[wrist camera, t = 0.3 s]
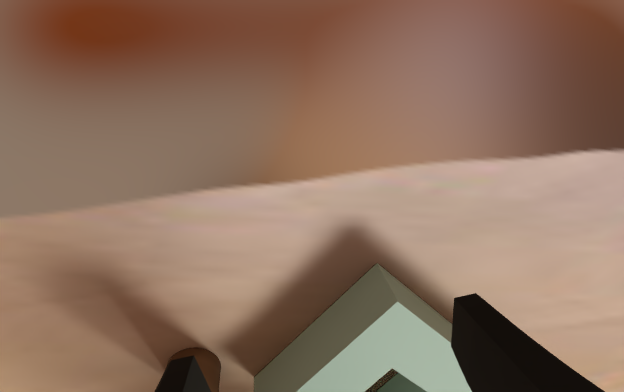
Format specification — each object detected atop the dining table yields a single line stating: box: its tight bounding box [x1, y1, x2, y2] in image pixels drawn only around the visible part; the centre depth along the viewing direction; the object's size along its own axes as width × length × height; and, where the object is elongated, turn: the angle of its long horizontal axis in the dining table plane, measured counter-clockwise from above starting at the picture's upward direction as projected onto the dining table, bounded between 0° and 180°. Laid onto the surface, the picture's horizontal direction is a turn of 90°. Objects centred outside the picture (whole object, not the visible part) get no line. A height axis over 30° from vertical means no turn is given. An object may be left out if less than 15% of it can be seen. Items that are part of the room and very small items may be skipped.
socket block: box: [254, 263, 472, 392], centre depth 24 cm, size 11×11×4 cm
